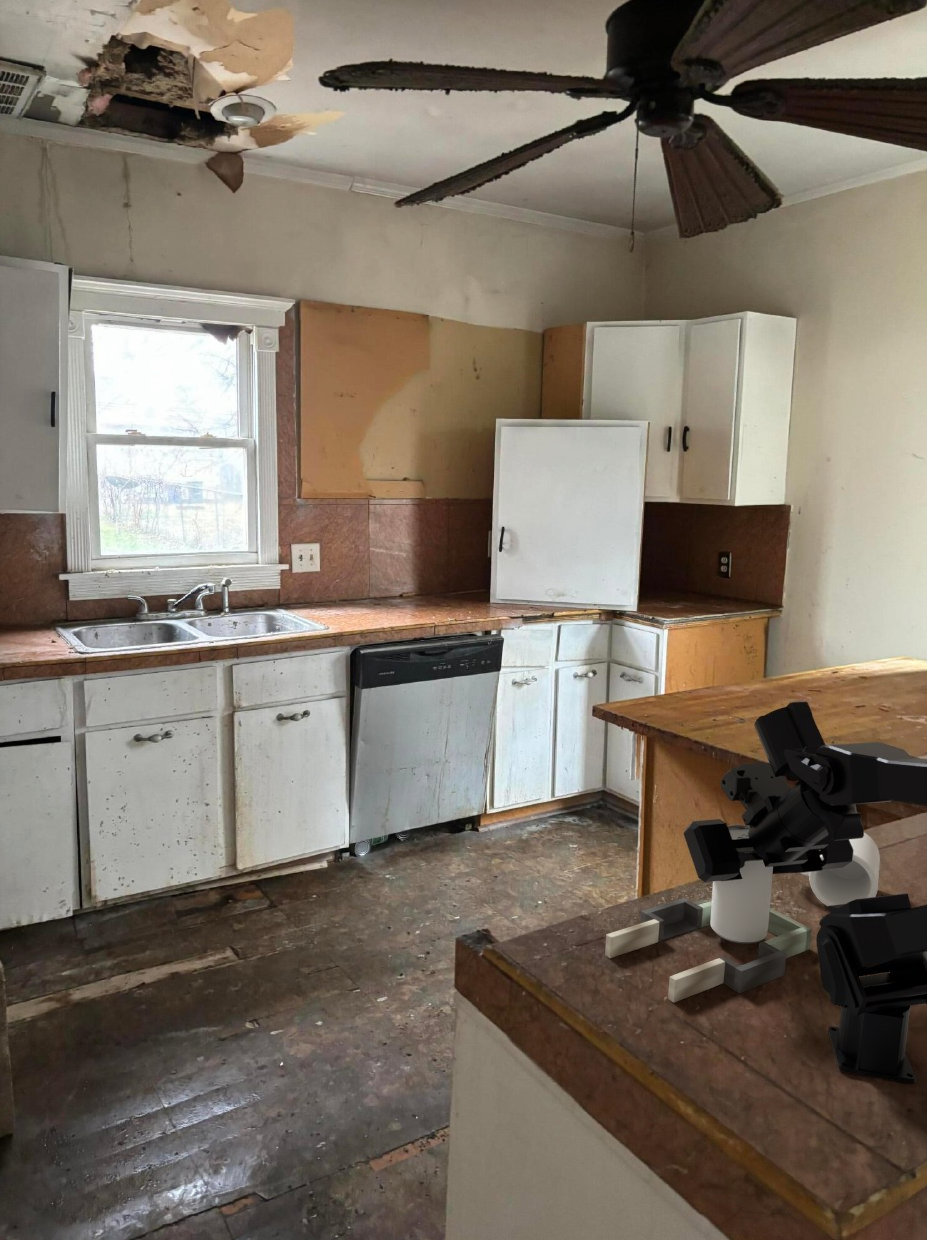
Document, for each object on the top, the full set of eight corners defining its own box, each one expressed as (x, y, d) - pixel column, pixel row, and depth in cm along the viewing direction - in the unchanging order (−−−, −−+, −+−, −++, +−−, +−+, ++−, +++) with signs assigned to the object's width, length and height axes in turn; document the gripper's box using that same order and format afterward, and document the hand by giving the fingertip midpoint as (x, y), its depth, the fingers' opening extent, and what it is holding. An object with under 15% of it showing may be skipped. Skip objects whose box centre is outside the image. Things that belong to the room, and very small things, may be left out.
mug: (876, 888, 119) (882, 832, 118) (874, 919, 110) (880, 859, 109) (783, 868, 124) (788, 814, 123) (773, 897, 115) (778, 839, 114)
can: (774, 929, 104) (782, 832, 103) (757, 951, 99) (765, 849, 97) (721, 913, 108) (727, 819, 106) (701, 933, 103) (708, 835, 101)
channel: (689, 1014, 89) (691, 991, 88) (592, 946, 101) (593, 926, 101) (826, 958, 100) (828, 937, 100) (723, 903, 113) (725, 885, 113)
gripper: (845, 743, 99) (777, 804, 111) (698, 752, 94) (643, 815, 106) (890, 837, 93) (813, 890, 105) (735, 852, 88) (672, 906, 100)
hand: (735, 872), depth 104 cm, fingers closed on can, 6 cm apart
